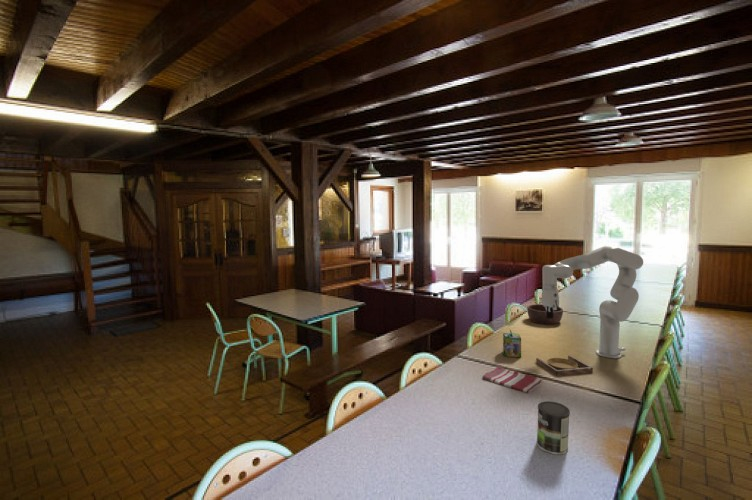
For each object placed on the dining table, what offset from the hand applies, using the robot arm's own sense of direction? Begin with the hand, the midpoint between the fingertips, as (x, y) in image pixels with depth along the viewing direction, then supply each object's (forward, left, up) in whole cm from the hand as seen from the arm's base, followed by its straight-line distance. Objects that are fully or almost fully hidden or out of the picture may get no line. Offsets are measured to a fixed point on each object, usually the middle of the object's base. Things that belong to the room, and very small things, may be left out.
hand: (549, 318), depth 222 cm
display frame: (+3, +17, -22) cm, 28 cm away
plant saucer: (+4, +17, -22) cm, 29 cm away
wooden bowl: (-40, -63, -22) cm, 78 cm away
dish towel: (+38, +27, -23) cm, 52 cm away
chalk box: (+20, -5, -22) cm, 31 cm away
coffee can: (+52, +79, -22) cm, 97 cm away
